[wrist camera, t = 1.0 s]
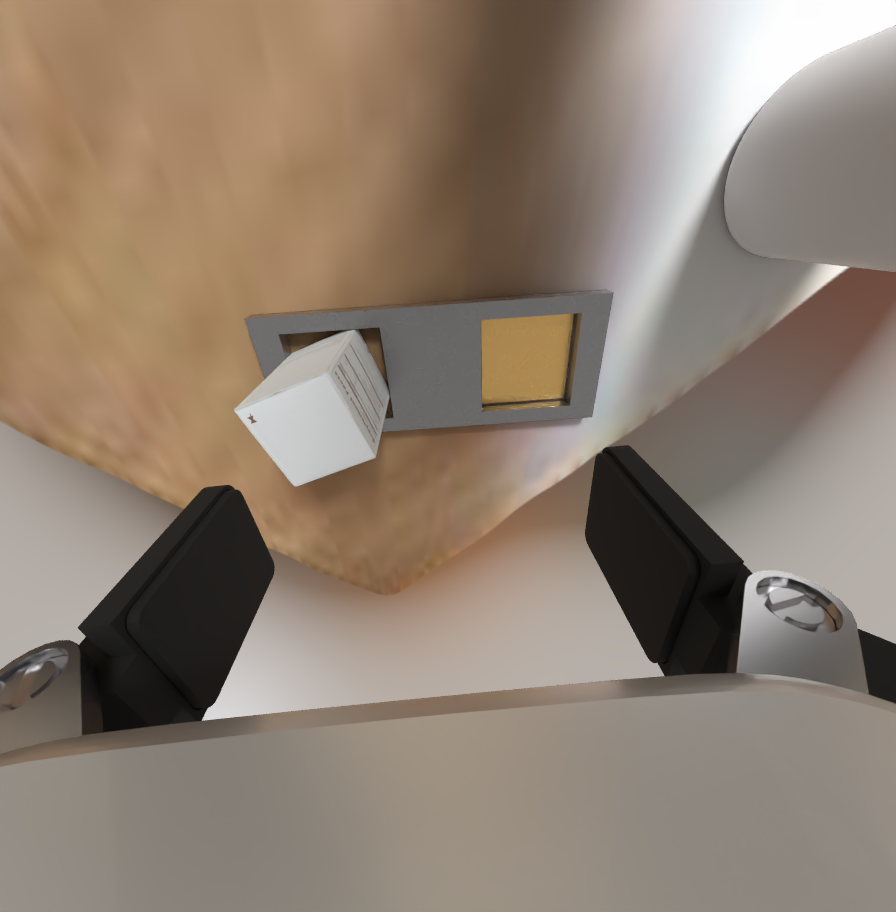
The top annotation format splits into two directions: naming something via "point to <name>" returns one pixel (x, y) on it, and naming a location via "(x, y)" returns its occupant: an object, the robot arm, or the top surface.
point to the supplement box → (320, 408)
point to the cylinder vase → (822, 163)
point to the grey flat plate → (469, 355)
